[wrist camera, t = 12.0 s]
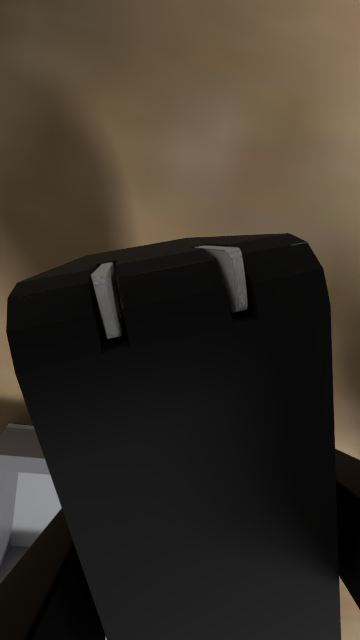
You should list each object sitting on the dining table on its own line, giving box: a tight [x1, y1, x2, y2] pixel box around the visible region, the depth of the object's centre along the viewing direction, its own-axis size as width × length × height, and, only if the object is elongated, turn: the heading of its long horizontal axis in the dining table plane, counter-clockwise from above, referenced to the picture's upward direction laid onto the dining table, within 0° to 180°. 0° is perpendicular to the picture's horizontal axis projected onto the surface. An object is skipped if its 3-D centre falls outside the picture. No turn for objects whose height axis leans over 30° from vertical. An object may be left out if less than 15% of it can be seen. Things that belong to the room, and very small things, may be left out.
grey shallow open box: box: [0, 423, 62, 582], centre depth 20 cm, size 14×10×3 cm
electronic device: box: [6, 233, 341, 640], centre depth 10 cm, size 4×10×10 cm, turn 10°
